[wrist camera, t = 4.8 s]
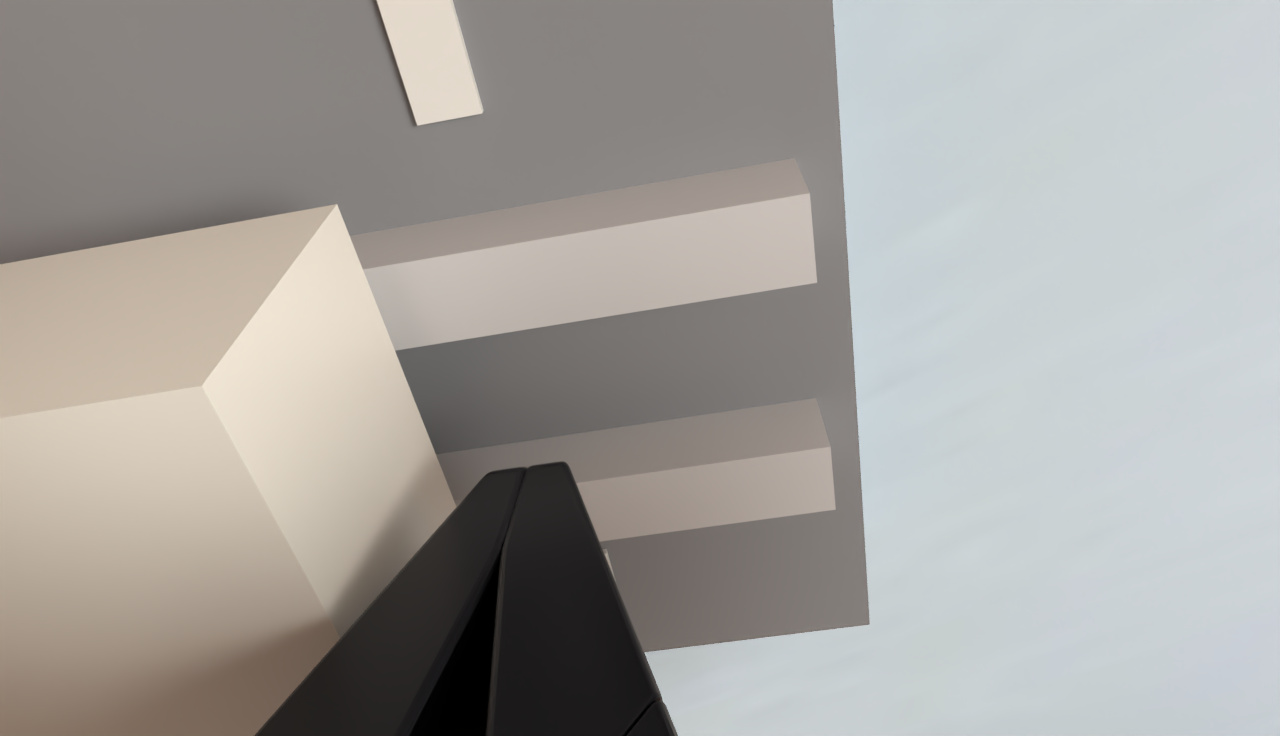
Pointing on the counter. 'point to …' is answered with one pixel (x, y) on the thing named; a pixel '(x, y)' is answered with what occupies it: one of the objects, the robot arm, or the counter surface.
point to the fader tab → (197, 475)
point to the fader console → (520, 244)
